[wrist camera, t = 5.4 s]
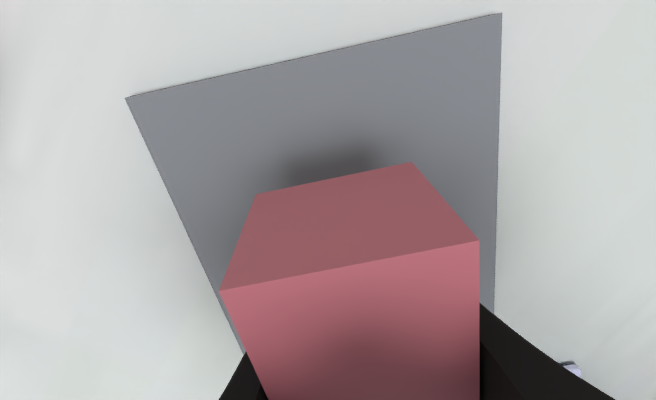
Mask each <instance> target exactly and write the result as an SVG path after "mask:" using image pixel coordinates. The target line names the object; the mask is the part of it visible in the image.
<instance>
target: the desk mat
mask: <svg viewBox="0 0 656 400" xmlns="http://www.w3.org/2000/svg"><path fill="white" fill-rule="evenodd" d="M501 35H502V13H497V14H493V15H488V16H484V17H479V18H475V19H470V20H466V21H462V22H457V23H453V24H448V25H444V26H440V27H435V28H431V29H426V30H422V31H417V32H413V33H409V34H404V35H400V36H395V37H391V38H386V39H382V40H378V41H373V42H369V43H364V44H360V45H356V46H351V47H347V48H342V49H338V50H333V51H329V52H325V53H320V54H316V55H311V56H307V57H303V58H298V59H294V60H289V61H285V62H280V63H276V64H272V65H267V66H263V67H258V68H254V69H249V70H245V71H241V72H236V73H232V74H227V75H223V76H219V77H214V78H210V79H205V80H201V81H196V82H192V83H188V84H183V85H179V86H174V87H170V88H166V89H161V90H157V91H152V92H148V93H143V94H139V95H135V96H130V97H127V98H125V100H126V102H127V104H128V106H129V109H130V111H131V113H132V115H133V117H134V119H135V122H136V124H137V126H138V128H139V130H140V132H141V134H142V137H143V139H144V141H145V143H146V145H147V147H148V150H149V152H150V154H151V156H152V158H153V160H154V163H155V165H156V167H157V169H158V171H159V173H160V175H161V178H162V180H163V182H164V184H165V186H166V188H167V191H168V193H169V195H170V197H171V199H172V201H173V204H174V206H175V208H176V210H177V212H178V214H179V216H180V219H181V221H182V223H183V225H184V227H185V229H186V232H187V234H188V236H189V238H190V240H191V242H192V245H193V247H194V249H195V251H196V253H197V255H198V257H199V260H200V262H201V264H202V266H203V268H204V270H205V273H206V275H207V277H208V279H209V281H210V283H211V286H212V288H213V290H214V292H215V294H216V296H217V298H218V301H219V303H220V305H221V307H222V309H223V311H224V314H225V316H226V318H227V320H228V322H229V324H230V327H231V329H232V331H233V333H234V335H235V337H236V339H237V342H238V344H239V346H240V348H241V350H242V352H243V355H244V354H245V352H246V350H245V347H244V345H243V343H242V341H241V339H240V337H239V334H238V332H237V330H236V328H235V326H234V323H233V321H232V319H231V317H230V315H229V312H228V310H227V308H226V306H225V304H224V302H223V299H222V297H221V295H220V293H219V289H220V286H221V284H222V281H223V279H224V276H225V273H226V271H227V268H228V266H229V263H230V260H231V258H232V255H233V252H234V250H235V247H236V245H237V242H238V239H239V237H240V234H241V232H242V229H243V226H244V224H245V221H246V219H247V216H248V213H249V211H250V208H251V206H252V203H253V200H254V198H255V195H256V194H259V193H264V192H269V191H274V190H278V189H283V188H288V187H293V186H298V185H302V184H307V183H312V182H317V181H322V180H326V179H331V178H336V177H341V176H346V175H350V174H355V173H360V172H365V171H370V170H374V169H379V168H384V167H389V166H394V165H398V164H403V163H408V162H412V163H413V164H414V165H415V166H416V167H417V168H418V170H419V171H420V172H421V173H422V174H423V175H424V177H425V178H426V179H427V180H428V181H429V182H430V184H431V185H432V186H433V187H434V188H435V189H436V190H437V192H438V193H439V194H440V195H441V196H442V197H443V199H444V200H445V201H446V202H447V203H448V204H449V206H450V207H451V208H452V209H453V210H454V211H455V213H456V214H457V215H458V216H459V217H460V218H461V220H462V221H463V222H464V223H465V224H466V225H467V227H468V228H469V229H470V230H471V231H472V232H473V234H474V235H475V236H476V237H477V238H478V239H479V302H480V303H481V304H482V305H483V306H485V307H486V308H487V309H488V310H489V311H490V312H492V313H493V314H494V287H495V251H496V215H497V179H498V143H499V107H500V71H501Z"/></svg>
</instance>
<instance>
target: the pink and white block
mask: <svg viewBox="0 0 656 400" xmlns="http://www.w3.org/2000/svg"><path fill="white" fill-rule="evenodd" d="M219 293H220V295H221V297H222V299H223V302H224V304H225V306H226V308H227V310H228V312H229V315H230V317H231V319H232V321H233V323H234V326H235V328H236V330H237V332H238V334H239V337H240V339H241V341H242V343H243V345H244V347H245V350H246V352H247V354H248V356H249V358H250V361H251V363H252V365H253V367H254V369H255V372H256V374H257V376H258V378H259V380H260V382H261V385H262V387H263V389H264V391H265V393H266V396H267V398H268V400H480V344H479V239H478V238H477V237H476V236H475V235H474V234H473V232H472V231H471V230H470V229H469V228H468V227H467V225H466V224H465V223H464V222H463V221H462V220H461V218H460V217H459V216H458V215H457V214H456V213H455V211H454V210H453V209H452V208H451V207H450V206H449V204H448V203H447V202H446V201H445V200H444V199H443V197H442V196H441V195H440V194H439V193H438V192H437V190H436V189H435V188H434V187H433V186H432V185H431V184H430V182H429V181H428V180H427V179H426V178H425V177H424V175H423V174H422V173H421V172H420V171H419V170H418V168H417V167H416V166H415V165H414V164H413V163H412V162H408V163H403V164H398V165H394V166H389V167H384V168H379V169H374V170H370V171H365V172H360V173H355V174H350V175H346V176H341V177H336V178H331V179H326V180H322V181H317V182H312V183H307V184H302V185H298V186H293V187H288V188H283V189H278V190H274V191H269V192H264V193H259V194H256V195H255V198H254V200H253V203H252V206H251V208H250V211H249V213H248V216H247V219H246V221H245V224H244V226H243V229H242V232H241V234H240V237H239V239H238V242H237V245H236V247H235V250H234V252H233V255H232V258H231V260H230V263H229V266H228V268H227V271H226V273H225V276H224V279H223V281H222V284H221V286H220V289H219Z"/></svg>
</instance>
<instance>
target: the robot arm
mask: <svg viewBox="0 0 656 400" xmlns="http://www.w3.org/2000/svg"><path fill="white" fill-rule="evenodd" d="M479 344H480V400H615V399H613V398H612V397H610V396H608V395H607V394H605V393H604V392H602V391H600V390H599V389H597V388H595V387H594V386H592V385H591V384H589V383H587V382H586V381H584V380H583V379H581V373H582V371H581V369H580V368H579V367H578V366H577V365H574V364H573V365H566V366H562V365H560V364H559V363H557V362H556V361H554V360H553V359H551V358H550V357H549V356H547V355H546V354H544V353H543V352H542V351H540V350H539V349H538V348H536V347H535V346H533V345H532V344H531V343H529V342H528V341H527V340H525V339H524V338H523V337H522V336H520V335H519V334H518V333H516V332H515V331H514V330H513V329H511V328H510V327H509V326H508V325H506V324H505V323H504V322H503V321H501V320H500V319H499V318H498V317H496V316H495V315H494V314H493V313H492V312H490V311H489V310H488V309H487V308H486V307H485V306H483V305H482V304H481V303H480V302H479ZM219 400H268V398H267V396H266V393H265V391H264V389H263V387H262V385H261V382H260V380H259V378H258V376H257V374H256V372H255V369H254V367H253V365H252V363H251V361H250V358H249V356H248V354H247V352H245V354H244V356H243V358H242V360H241V362H240V363H239V365H238V367H237V369H236V371H235V372H234V374H233V376H232V378H231V380H230V382H229V383H228V385H227V387H226V389H225V390H224V392H223V394H222V395H221V397H220V398H219Z"/></svg>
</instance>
